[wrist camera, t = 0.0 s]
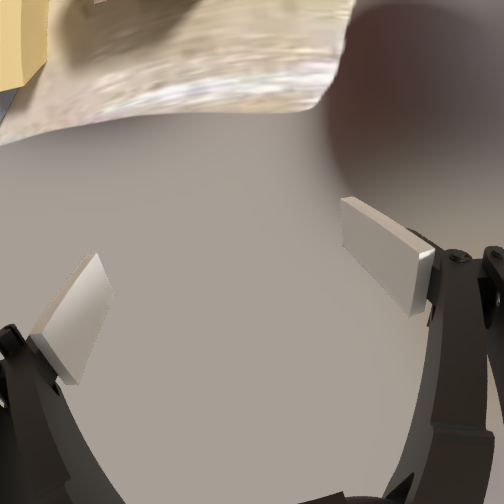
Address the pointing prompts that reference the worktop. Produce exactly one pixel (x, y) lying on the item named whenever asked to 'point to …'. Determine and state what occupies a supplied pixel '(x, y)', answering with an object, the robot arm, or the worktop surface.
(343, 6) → the worktop surface
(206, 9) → the worktop surface
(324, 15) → the worktop surface
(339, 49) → the worktop surface
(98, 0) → the tea box
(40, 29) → the lidded cardboard box
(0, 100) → the slate pad
